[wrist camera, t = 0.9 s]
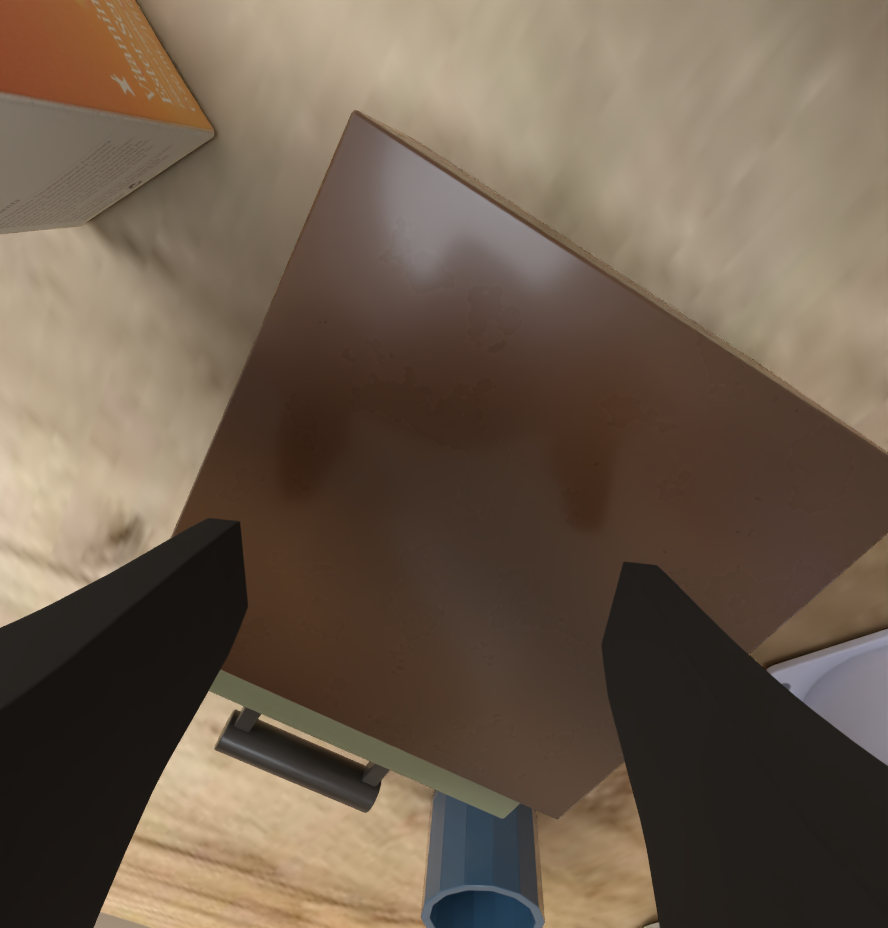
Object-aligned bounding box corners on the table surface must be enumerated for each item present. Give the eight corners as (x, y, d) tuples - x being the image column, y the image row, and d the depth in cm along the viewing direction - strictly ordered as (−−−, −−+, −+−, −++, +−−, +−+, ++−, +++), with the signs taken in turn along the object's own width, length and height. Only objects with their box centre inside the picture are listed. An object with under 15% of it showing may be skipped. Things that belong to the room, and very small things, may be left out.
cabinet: (536, 627, 24) (557, 821, 17) (248, 480, 22) (130, 631, 15) (765, 367, 19) (940, 489, 12) (412, 138, 17) (352, 107, 9)
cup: (553, 821, 30) (565, 938, 25) (462, 845, 32) (458, 961, 27) (506, 759, 28) (509, 874, 24) (412, 788, 30) (397, 902, 25)
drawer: (442, 730, 26) (428, 889, 21) (196, 618, 24) (103, 759, 18) (698, 437, 19) (790, 553, 13) (380, 244, 17) (324, 280, 11)
